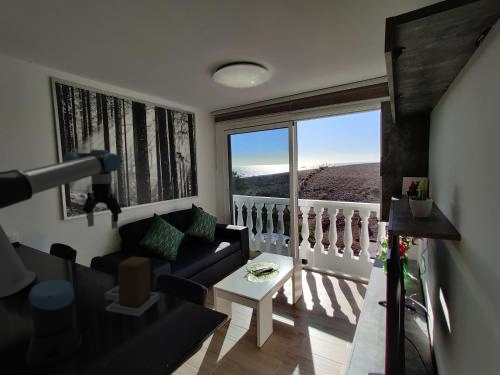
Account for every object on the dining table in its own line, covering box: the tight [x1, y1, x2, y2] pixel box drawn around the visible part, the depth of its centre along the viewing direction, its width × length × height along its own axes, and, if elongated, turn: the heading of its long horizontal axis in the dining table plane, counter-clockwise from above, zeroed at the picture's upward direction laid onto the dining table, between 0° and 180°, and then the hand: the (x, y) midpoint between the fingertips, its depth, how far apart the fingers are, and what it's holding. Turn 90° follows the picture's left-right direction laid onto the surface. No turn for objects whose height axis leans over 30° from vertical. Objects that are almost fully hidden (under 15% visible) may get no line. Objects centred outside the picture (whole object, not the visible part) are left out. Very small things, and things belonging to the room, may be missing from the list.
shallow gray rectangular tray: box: [105, 291, 160, 317], centre depth 116 cm, size 15×17×3 cm
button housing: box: [104, 285, 119, 302], centre depth 123 cm, size 8×8×3 cm
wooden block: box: [117, 256, 151, 308], centre depth 115 cm, size 10×10×20 cm
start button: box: [113, 285, 119, 294], centre depth 123 cm, size 4×4×3 cm
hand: (102, 227), depth 120 cm, fingers open, 13 cm apart
